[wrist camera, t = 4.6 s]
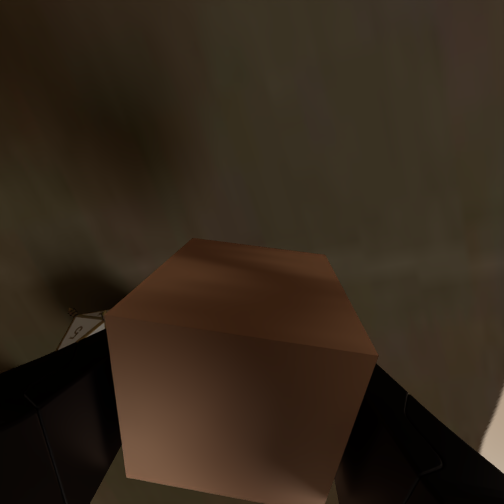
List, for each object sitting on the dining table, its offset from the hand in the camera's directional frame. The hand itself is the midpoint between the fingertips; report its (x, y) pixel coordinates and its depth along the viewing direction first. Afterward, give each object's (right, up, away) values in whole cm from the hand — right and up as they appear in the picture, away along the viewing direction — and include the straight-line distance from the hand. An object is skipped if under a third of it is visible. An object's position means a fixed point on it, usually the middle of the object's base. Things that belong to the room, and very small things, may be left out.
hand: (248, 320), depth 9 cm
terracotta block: (0, 0, +1) cm, 1 cm away
